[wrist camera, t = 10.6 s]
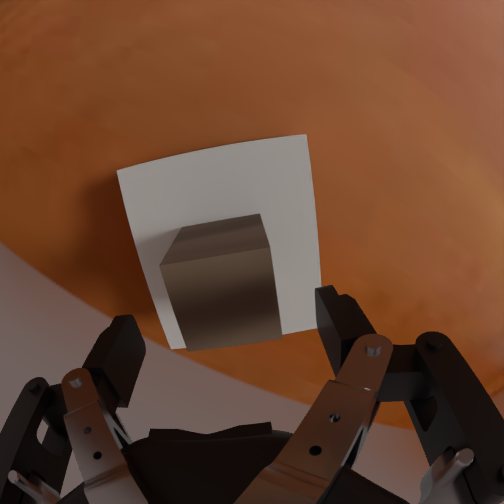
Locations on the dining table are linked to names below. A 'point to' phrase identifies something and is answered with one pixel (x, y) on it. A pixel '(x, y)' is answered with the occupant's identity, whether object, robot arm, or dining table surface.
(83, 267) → the dining table surface
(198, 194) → the block
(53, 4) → the dining table surface
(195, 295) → the walnut block
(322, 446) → the robot arm
